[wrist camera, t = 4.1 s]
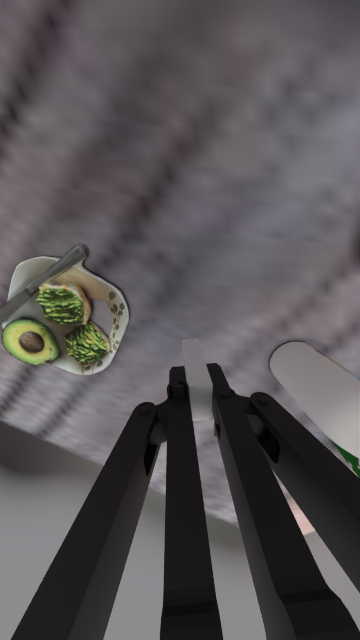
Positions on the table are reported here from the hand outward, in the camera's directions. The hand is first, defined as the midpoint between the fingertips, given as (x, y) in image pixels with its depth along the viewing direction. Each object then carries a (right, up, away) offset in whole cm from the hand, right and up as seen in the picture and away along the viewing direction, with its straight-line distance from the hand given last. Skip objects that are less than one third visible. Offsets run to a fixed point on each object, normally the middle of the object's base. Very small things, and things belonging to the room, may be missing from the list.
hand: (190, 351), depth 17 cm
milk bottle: (+18, -4, +14) cm, 23 cm away
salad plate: (-18, +3, +11) cm, 21 cm away
